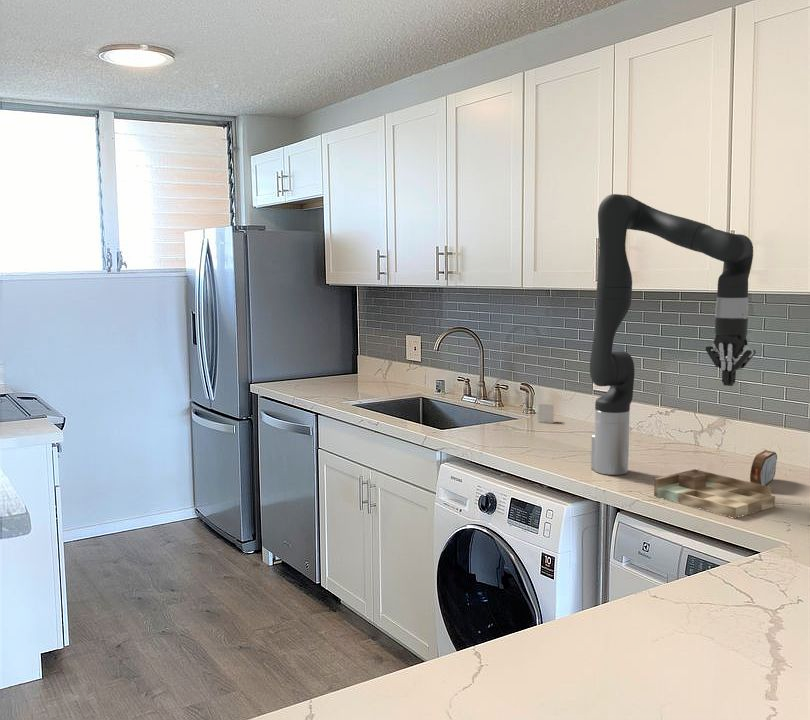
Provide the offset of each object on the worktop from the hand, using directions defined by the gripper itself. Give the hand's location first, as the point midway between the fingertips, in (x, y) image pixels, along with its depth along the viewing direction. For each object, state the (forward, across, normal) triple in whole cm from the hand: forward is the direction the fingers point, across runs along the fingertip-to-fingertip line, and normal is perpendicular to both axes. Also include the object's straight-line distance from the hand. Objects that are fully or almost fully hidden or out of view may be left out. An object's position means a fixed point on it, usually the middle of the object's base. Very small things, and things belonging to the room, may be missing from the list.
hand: (728, 385), depth 203 cm
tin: (+27, +2, +14) cm, 31 cm away
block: (+24, -2, -11) cm, 27 cm away
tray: (+27, +4, -10) cm, 29 cm away
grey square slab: (+28, -92, +28) cm, 100 cm away
